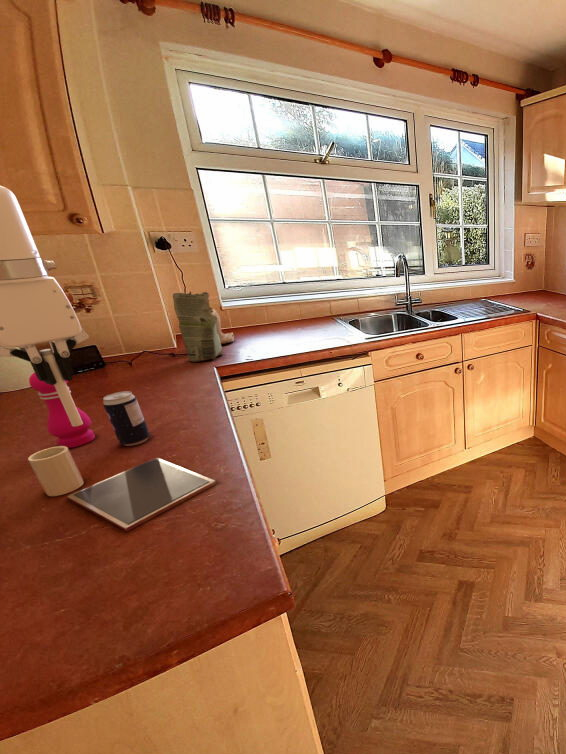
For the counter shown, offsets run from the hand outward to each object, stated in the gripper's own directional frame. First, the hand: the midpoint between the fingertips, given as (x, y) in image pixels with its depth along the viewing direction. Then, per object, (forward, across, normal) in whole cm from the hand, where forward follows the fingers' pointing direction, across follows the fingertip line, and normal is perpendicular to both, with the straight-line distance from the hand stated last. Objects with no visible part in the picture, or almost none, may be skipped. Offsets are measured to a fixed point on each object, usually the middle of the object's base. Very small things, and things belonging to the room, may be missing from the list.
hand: (58, 380), depth 72 cm
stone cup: (+24, -70, -86) cm, 114 cm away
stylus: (+9, 0, 0) cm, 9 cm away
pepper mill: (+24, -7, -33) cm, 41 cm away
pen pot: (+24, +3, -11) cm, 26 cm away
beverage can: (+24, -13, -20) cm, 34 cm away
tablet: (+24, -4, +5) cm, 24 cm away
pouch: (+24, -59, -71) cm, 95 cm away
